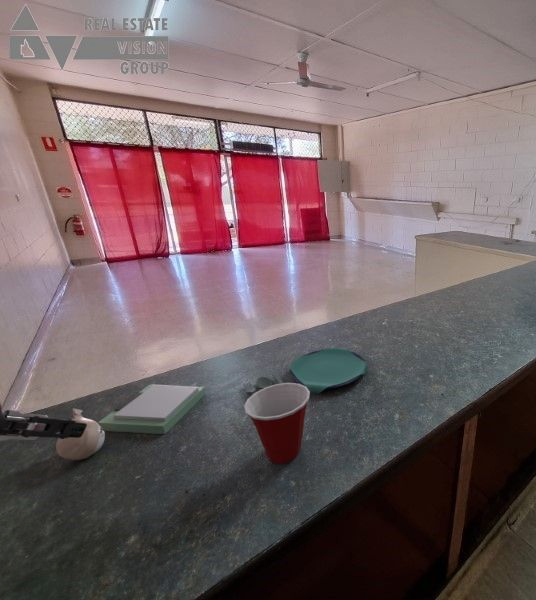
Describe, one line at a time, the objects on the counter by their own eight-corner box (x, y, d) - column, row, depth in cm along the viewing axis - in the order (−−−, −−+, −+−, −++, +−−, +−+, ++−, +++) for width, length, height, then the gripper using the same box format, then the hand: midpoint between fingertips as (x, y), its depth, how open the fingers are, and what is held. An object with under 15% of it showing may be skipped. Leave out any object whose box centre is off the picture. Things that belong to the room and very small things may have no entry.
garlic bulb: (118, 438, 60) (106, 403, 58) (93, 465, 54) (79, 428, 52) (78, 441, 59) (65, 406, 57) (48, 470, 53) (32, 431, 51)
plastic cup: (296, 422, 66) (292, 373, 62) (324, 452, 59) (321, 398, 55) (242, 449, 59) (234, 395, 55) (267, 487, 52) (259, 427, 48)
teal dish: (380, 376, 84) (381, 369, 83) (264, 424, 65) (263, 415, 65) (342, 348, 98) (342, 341, 97) (238, 380, 80) (237, 373, 79)
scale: (100, 430, 62) (96, 419, 61) (151, 391, 74) (148, 381, 74) (165, 434, 62) (162, 422, 61) (205, 394, 74) (203, 384, 73)
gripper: (1, 390, 39) (109, 407, 54) (-110, 384, 39) (28, 403, 54) (-39, 458, 36) (88, 456, 50) (-159, 451, 36) (2, 452, 51)
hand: (57, 429), depth 52 cm, fingers open, 8 cm apart
